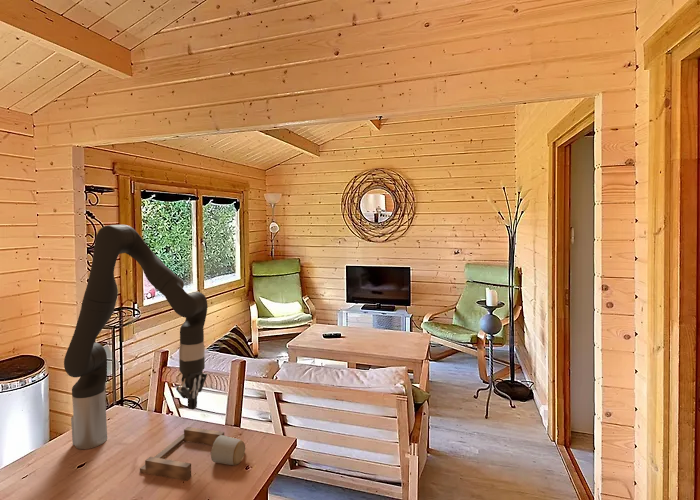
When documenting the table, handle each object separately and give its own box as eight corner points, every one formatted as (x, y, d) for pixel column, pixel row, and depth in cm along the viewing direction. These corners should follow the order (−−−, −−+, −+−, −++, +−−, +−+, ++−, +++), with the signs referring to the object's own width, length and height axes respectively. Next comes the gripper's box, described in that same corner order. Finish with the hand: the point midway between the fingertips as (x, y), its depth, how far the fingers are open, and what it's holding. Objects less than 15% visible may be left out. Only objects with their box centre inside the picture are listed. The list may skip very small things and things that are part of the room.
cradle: (139, 472, 122) (139, 459, 122) (182, 437, 141) (182, 426, 141) (187, 480, 118) (186, 467, 118) (224, 443, 137) (224, 432, 137)
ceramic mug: (235, 471, 123) (234, 446, 122) (210, 467, 124) (210, 442, 124) (251, 451, 133) (251, 428, 132) (228, 448, 135) (228, 425, 134)
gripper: (194, 347, 138) (195, 397, 139) (167, 361, 125) (168, 416, 126) (214, 350, 136) (214, 401, 137) (189, 364, 123) (189, 419, 125)
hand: (192, 408), depth 132 cm, fingers closed
